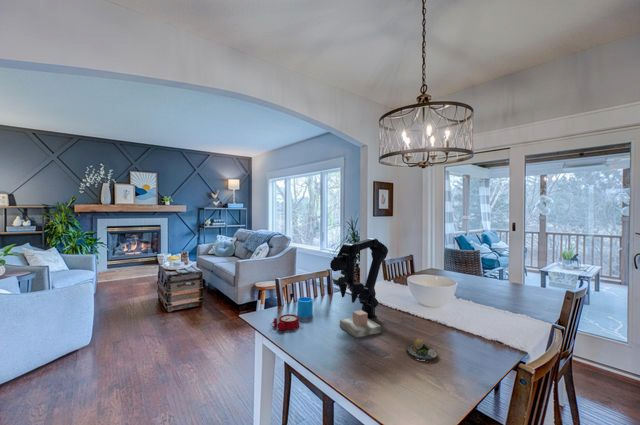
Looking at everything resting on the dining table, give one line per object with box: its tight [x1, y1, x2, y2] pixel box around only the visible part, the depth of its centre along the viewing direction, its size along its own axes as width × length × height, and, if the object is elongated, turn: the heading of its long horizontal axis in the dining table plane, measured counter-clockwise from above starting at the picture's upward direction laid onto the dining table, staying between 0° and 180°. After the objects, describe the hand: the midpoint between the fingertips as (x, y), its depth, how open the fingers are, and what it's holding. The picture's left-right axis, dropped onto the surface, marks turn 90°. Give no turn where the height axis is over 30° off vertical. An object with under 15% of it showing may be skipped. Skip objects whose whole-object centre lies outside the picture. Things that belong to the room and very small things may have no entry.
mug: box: [296, 296, 314, 318], centre depth 158 cm, size 12×8×8 cm
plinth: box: [339, 317, 382, 339], centre depth 139 cm, size 14×14×3 cm
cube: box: [352, 309, 368, 326], centre depth 139 cm, size 5×5×5 cm
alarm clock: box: [270, 314, 300, 332], centre depth 140 cm, size 10×6×15 cm
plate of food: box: [405, 336, 438, 361], centre depth 116 cm, size 12×12×8 cm
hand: (348, 299), depth 145 cm, fingers open, 9 cm apart
